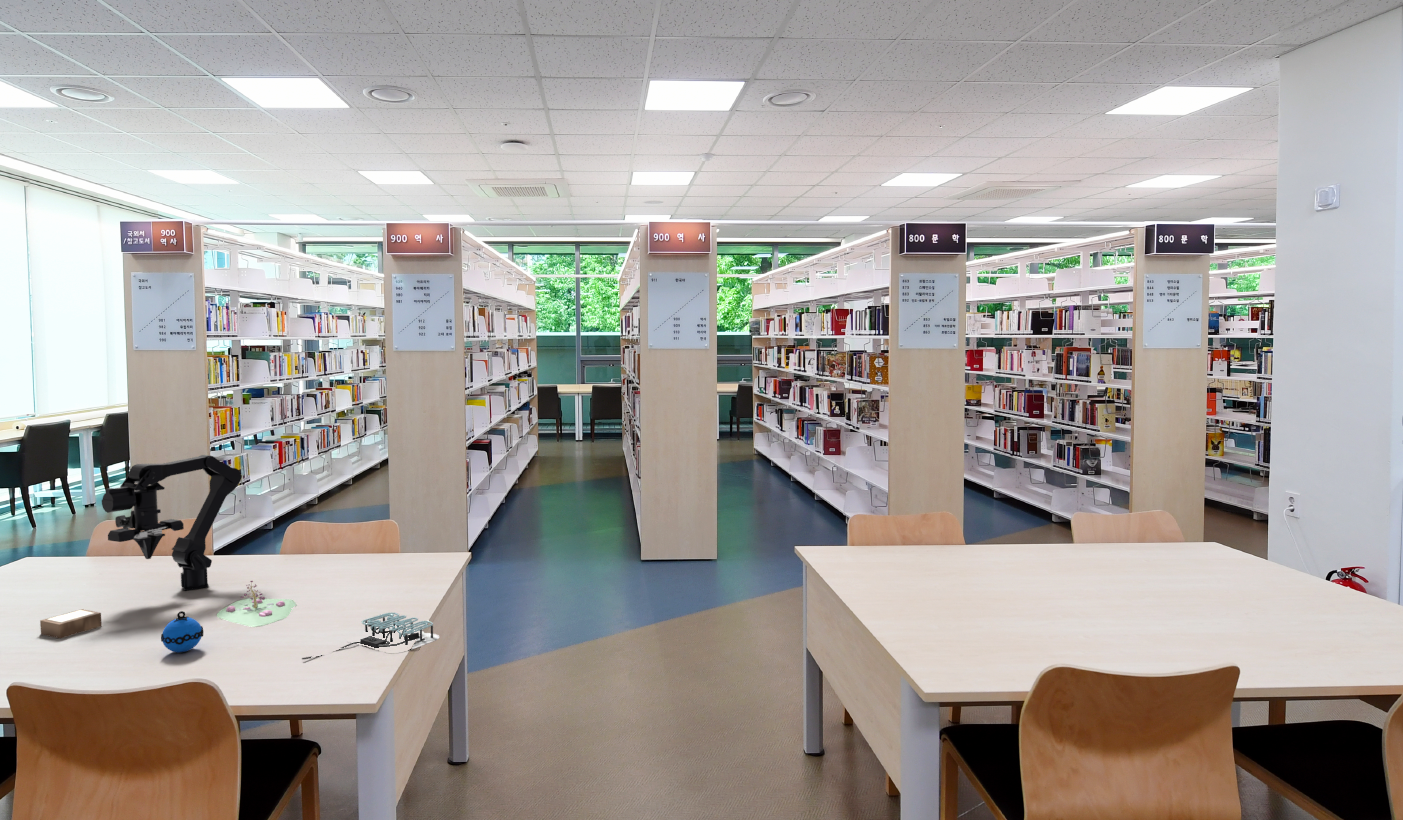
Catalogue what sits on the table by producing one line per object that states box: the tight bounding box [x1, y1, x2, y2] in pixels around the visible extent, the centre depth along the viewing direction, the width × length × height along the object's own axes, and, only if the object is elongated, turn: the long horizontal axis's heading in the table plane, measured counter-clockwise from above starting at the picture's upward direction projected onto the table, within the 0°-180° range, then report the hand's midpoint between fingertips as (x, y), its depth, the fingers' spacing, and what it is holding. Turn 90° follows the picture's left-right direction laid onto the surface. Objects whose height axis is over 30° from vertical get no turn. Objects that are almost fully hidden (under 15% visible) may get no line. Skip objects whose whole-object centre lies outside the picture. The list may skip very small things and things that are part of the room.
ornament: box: [160, 610, 204, 654], centre depth 198 cm, size 9×9×10 cm
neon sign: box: [301, 612, 440, 660], centre depth 202 cm, size 21×4×29 cm
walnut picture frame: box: [39, 608, 102, 639], centre depth 213 cm, size 4×8×10 cm
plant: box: [216, 580, 297, 628], centre depth 228 cm, size 25×21×9 cm
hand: (148, 558), depth 240 cm, fingers closed
